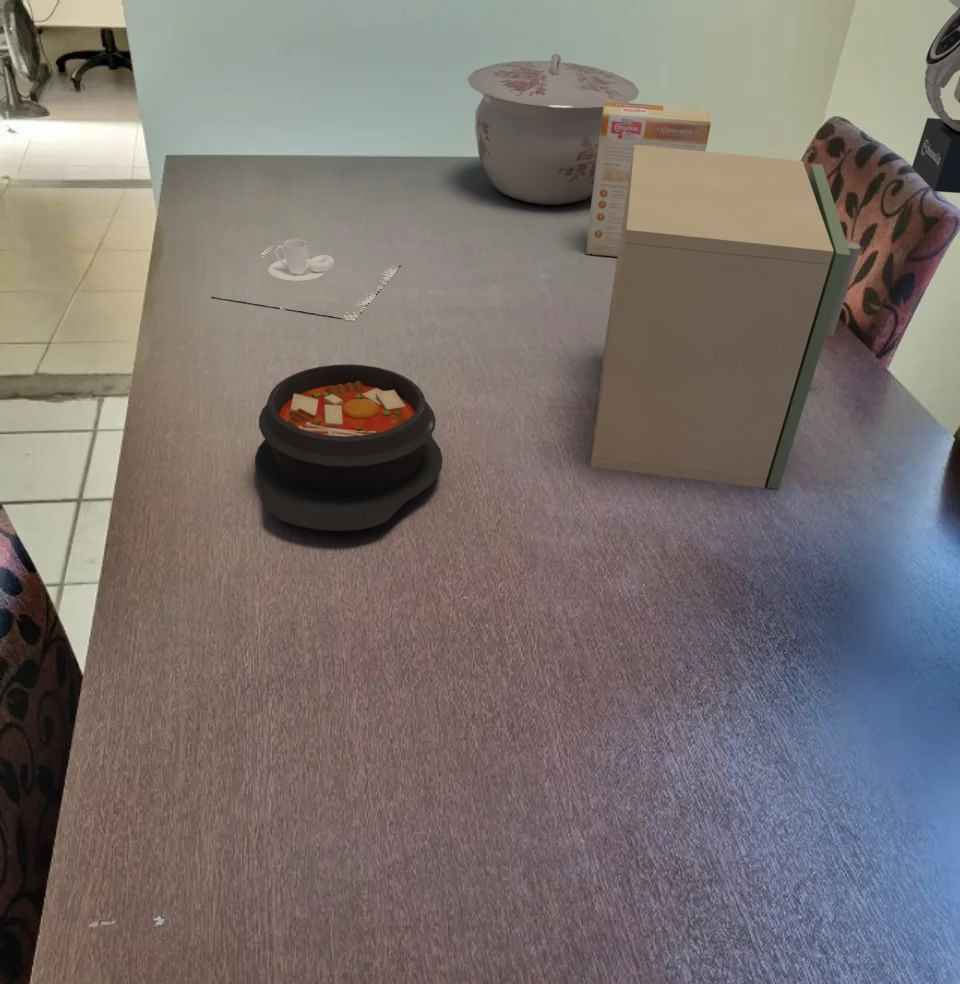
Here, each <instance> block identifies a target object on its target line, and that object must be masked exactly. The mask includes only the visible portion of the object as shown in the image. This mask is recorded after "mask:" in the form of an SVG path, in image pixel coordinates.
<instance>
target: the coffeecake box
mask: <svg viewBox="0 0 960 984" xmlns="http://www.w3.org/2000/svg"><path fill="white" fill-rule="evenodd" d="M709 113H710V111H709V108H702V107H701V108H699V107H688V106H687V107H686V106H674V105H673V106H671V105H661V104H660V105H659V104H646V103H637V102H636V103H635V102H628V103H623V102H611V101H604V106H603V113H602V120H601V128H600V136H599V145H598V153H597V161H596V169H595V177H594V186H593V194H592V195H591V204H590V211H589V219H588V230H587V237H586V239H587V240H586V249H585V250H586V251H585V252H586V253H585V254H586V255H590V254H592V255H593V256H603V255H604V257H616V258H618V251H619V244H620V237H621V231H622V224H623V217H624V210H625V203H626V197H627V190H628V183H629V176H630V169H631V163H632V156H633V149H634V145H644V146H654V147H664V148H674V149H685V150H695V151H705V152H707V145H708V142H709V141H708V140H709V136H710V129H711V123H712V121H711V117H710V114H709Z"/></svg>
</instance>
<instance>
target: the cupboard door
mask: <svg viewBox="0 0 960 984" xmlns="http://www.w3.org/2000/svg"><path fill="white" fill-rule="evenodd" d="M807 175H808V178H809V181H810V184H811V187H812V189H813V192H814V195H815V198H816V201H817V204H818V207H819V210H820V213H821V216H822V218H823V221H824V224H825V227H826V230H827V233H828V236H829V239H830V242H831V244H832V247H833V250H834V253H833V256H832V259H831V263H830V266H829V270H828V273H827V276H826V280H825V283H824V287H823V290H822V293H821V297H820V300H819V304H818V307H817V310H816V314H815V317H814V321H813V324H812V327H811V331H810V334H809V338H808V341H807V344H806V348H805V351H804V354H803V358H802V361H801V365H800V368H799V371H798V375H797V378H796V382H795V385H794V388H793V392H792V395H791V399H790V402H789V405H788V409H787V412H786V416H785V419H784V422H783V426H782V429H781V432H780V436H779V439H778V443H777V446H776V449H775V453H774V456H773V460H772V463H771V466H770V470H769V473H768V477H767V480H766V488H767V489H773V490H779V489H780V486H781V483H782V479H783V476H784V473H785V470H786V466H787V463H788V459H789V457H790V453H791V450H792V447H793V443H794V440H795V436H796V434H797V432H798V431H797V430H798V428H799V424H800V421H801V417H802V414H803V411H804V407H805V404H806V401H807V399H808V398H807V397H808V395H809V391H810V388H811V386H812V381H813V378H814V375H815V372H816V368H817V366H818V362H819V359H820V356H821V353H822V349H823V346H824V342H825V340H826V336H827V337H831V336H834V334H835V331H836V328H837V325H838V322H839V320H840V316H841V313H842V310H843V307H844V303H845V301H846V300H845V299H846V297H847V293H848V291H849V287H850V284H851V281H852V278H853V274H854V271H855V269H856V264H857V261H858V258H859V255H860V253H861V252H860V251H861V249H862V246H861V245H860V244H859V243H855V242H852V241H850V242H849V241H847V239H846V236H845V232H844V230H843V226H842V224H841V220H840V217H839V213H838V210H837V207H836V204H835V201H834V197H833V194H832V191H831V187H830V184H829V181H828V178H827V175H826V171H825V169H824V165H823V164H819V163H811V164H810V167H809V171H808V173H807Z"/></svg>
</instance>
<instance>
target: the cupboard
mask: <svg viewBox="0 0 960 984" xmlns="http://www.w3.org/2000/svg"><path fill="white" fill-rule="evenodd" d="M833 253H834V250H833V247H832V244H831V242H830V239H829V236H828V233H827V230H826V227H825V224H824V221H823V218H822V216H821V213H820V210H819V207H818V204H817V201H816V198H815V195H814V192H813V189H812V187H811V184H810V181H809V178H808V172H807V169H806V167H805V164H804V161H803V160H794V159H785V158H777V157H776V158H775V157H763V156H753V155H746V154H745V155H744V154H736V153H735V154H734V153H725V152H715V151H714V152H713V151H695V150H685V149H674V148H664V147H654V146H644V145H634V149H633V156H632V163H631V169H630V176H629V183H628V190H627V197H626V203H625V210H624V217H623V224H622V231H621V237H620V244H619V251H618V257H616V258H617V259H616V265H615V272H614V279H613V284H612V285H613V286H612V292H611V293H612V294H611V298H610V299H611V300H610V305H609V307H610V308H609V314H608V320H607V326H606V334H605V338H604V339H605V340H604V345H603V346H604V348H603V354H602V360H601V361H602V363H601V370H600V371H601V372H600V379H599V389H598V398H597V406H596V415H595V424H594V433H593V434H594V435H593V441H592V450H591V459H590V460H591V461H590V468H596V469H605V470H611V471H612V470H613V471H619V472H620V471H622V472H629V473H635V474H636V473H637V474H645V475H652V476H661V477H669V478H676V479H677V478H678V479H685V480H694V481H702V482H710V483H718V484H727V485H735V486H742V487H750V488H757V489H765V487H766V484H767V482H766V480H767V477H768V473H769V470H770V466H771V463H772V460H773V456H774V453H775V449H776V446H777V443H778V439H779V436H780V432H781V429H782V426H783V422H784V419H785V416H786V412H787V409H788V405H789V402H790V399H791V395H792V392H793V388H794V385H795V382H796V378H797V375H798V371H799V368H800V365H801V361H802V358H803V354H804V351H805V348H806V344H807V341H808V338H809V334H810V331H811V327H812V324H813V321H814V317H815V314H816V310H817V307H818V304H819V300H820V297H821V293H822V290H823V287H824V283H825V280H826V276H827V273H828V270H829V266H830V263H831V259H832V256H833Z"/></svg>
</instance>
